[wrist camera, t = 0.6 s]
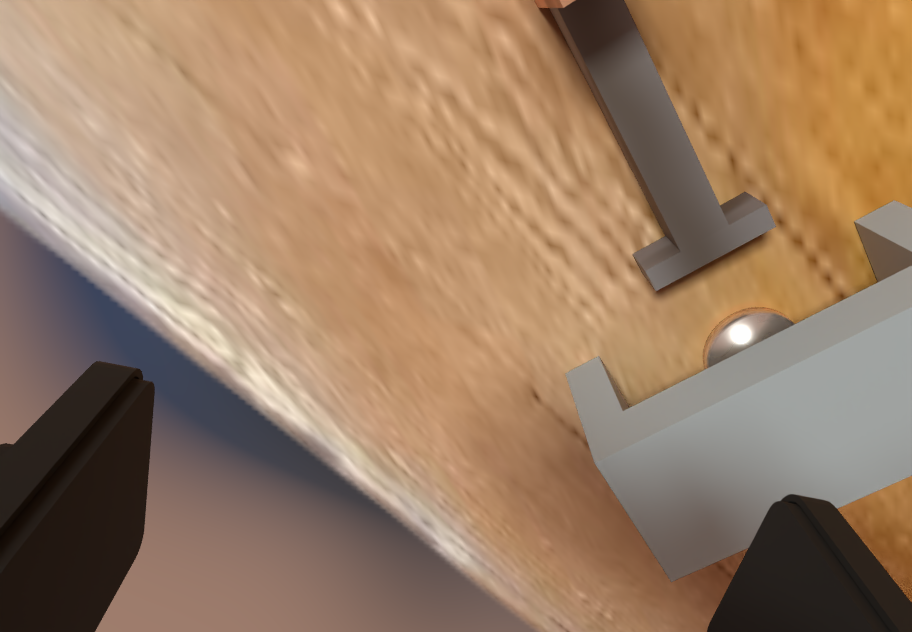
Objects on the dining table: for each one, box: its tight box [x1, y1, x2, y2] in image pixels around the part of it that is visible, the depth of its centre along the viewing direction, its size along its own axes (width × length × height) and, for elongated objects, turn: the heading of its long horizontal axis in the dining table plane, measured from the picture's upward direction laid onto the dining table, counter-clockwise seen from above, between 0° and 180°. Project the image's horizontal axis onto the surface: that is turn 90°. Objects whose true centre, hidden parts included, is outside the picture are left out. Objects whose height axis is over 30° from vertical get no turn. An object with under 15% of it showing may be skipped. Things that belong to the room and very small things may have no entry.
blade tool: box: [535, 0, 776, 291], centre depth 28 cm, size 6×18×7 cm, turn 32°
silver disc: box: [703, 307, 795, 370], centre depth 37 cm, size 5×5×1 cm
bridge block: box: [566, 201, 912, 582], centre depth 33 cm, size 18×8×8 cm, turn 122°
